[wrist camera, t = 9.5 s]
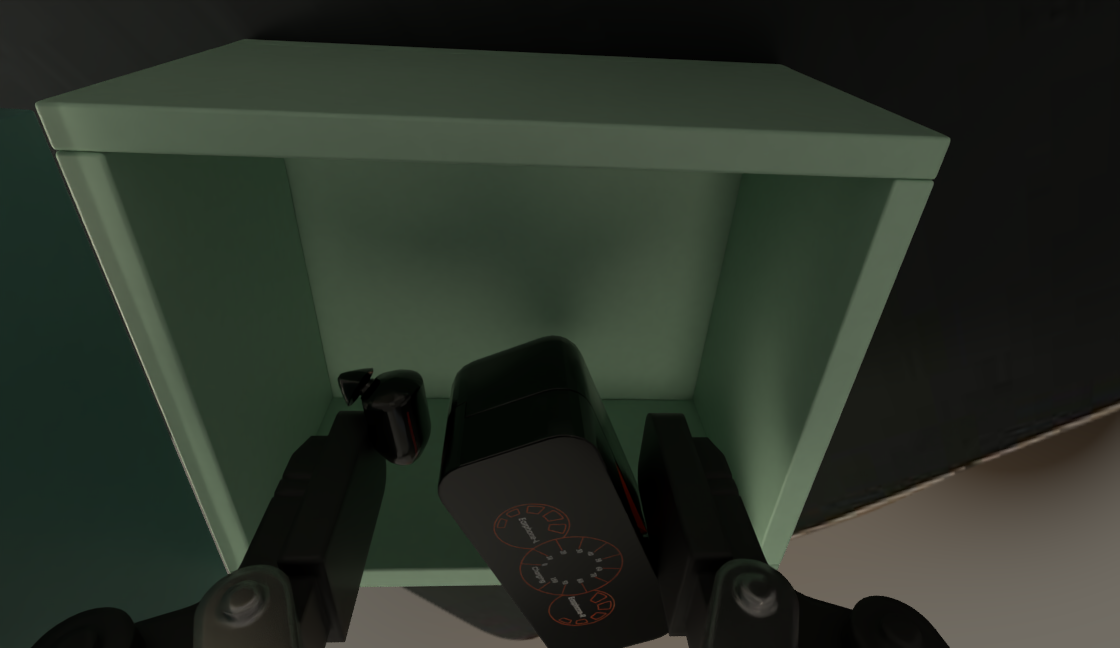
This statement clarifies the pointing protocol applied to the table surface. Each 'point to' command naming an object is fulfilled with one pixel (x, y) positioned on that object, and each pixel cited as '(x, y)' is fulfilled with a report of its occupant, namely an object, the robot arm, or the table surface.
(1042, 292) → the table surface
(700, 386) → the storage box
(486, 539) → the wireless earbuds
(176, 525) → the lid
